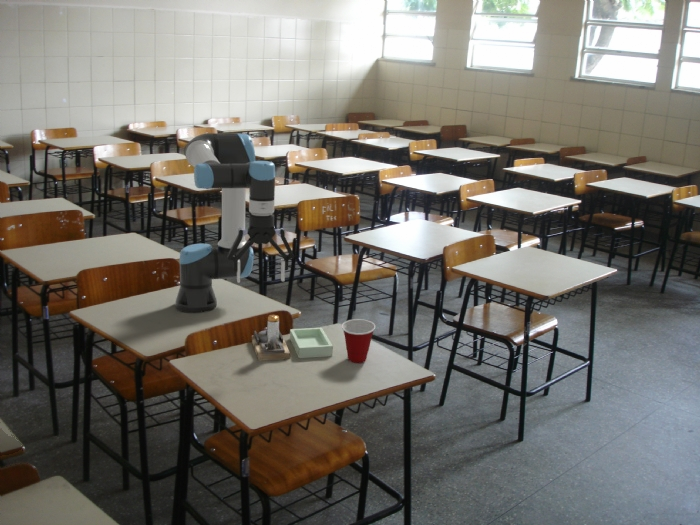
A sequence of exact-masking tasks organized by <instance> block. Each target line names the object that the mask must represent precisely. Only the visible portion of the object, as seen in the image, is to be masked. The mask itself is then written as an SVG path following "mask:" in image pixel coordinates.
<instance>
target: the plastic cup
mask: <svg viewBox="0 0 700 525" xmlns="http://www.w3.org/2000/svg"><path fill="white" fill-rule="evenodd" d="M341 330H343V334H344V340H345V341H344V342H345V347H346V353H347V355H346V356H347V360H348V361H349V362H351V363H353V364H362V363H365V362H366V361H367V357H368V354H369V351H370V346H371V342H372V337H373V334H374V331H375V330H376V324H375V323H374V322H373V321H370V320H367V319H363V318H362V319H361V318H354V319H348V320H347V321H346V320H345V321H344V322H343V323H342V324H341Z"/></svg>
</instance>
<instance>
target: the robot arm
mask: <svg viewBox="0 0 700 525" xmlns="http://www.w3.org/2000/svg"><path fill="white" fill-rule="evenodd" d="M184 155H185V159H186V161H187V162H188V164H189V165H190V166H192V167H193V168H194V169H193V177H194V178H193V181H194V185H195V187H196V188H197V189H203V190H209V189H210V190H211V189H212V190H213V189H218V190H219V189H221V239H220V240H219V241H218V242H217V247H213V246H212V245H211V244H210V243H194V244H190V245H187V246H184V247H183V248H181V250H180V252H179V261H178V262H179V290H178V292H177V296H176V298H175V308H176V309H177V310H179V311H180V312H184V313H189V314H190V313H191V314H192V313H193V314H199V313H200V314H201V313H205V312H206V313H207V312H210V311H213V310H215V309H216V308H217V305H218V304H217V303H218V302H217V297H216V294H215V290H214V288H213V280H226V279H227V280H228V279H236V282H237V283H238V284H239V283H241V278H247V277H249V276H250V274H251V272H252V270H253V267H254V249H253V247H252V246H253V244H256V245H260V244H262V245H263V244H264V245H268V244H271V246H272V247H273V248H274V249H275V251H277V252H278V253H279V255H280V256H281V257H282V258H280V280H281V282H285V279H286V278H285V276H286V274H285V273H286V271H288V270H289V261H290V260H292V259H293V260H294V258H295V255H294V253H293V250H292V247H291V245H290V244H289V242H288V240H287V238H286V233H285V230H284V228H283V227H280V228H278V229H276V228H275V214H274V213H275V191H276V189H275V188H276V185H275V184H276V175H277V174H276V166H275V163H274V162H272V161H268V160H256V154H255V147H254V142H253V140H252V137H251V136H250V135H248V134H246V133H237V132H233V133H231V132H229V133H227V132H225V133H224V132H223V133H222V132H221V133H220V132H219V133H216V132H214V133H212V132H205V133H202V134H199V135H197V136H195V137H193V138H192V139H190V140H189V142H188V143H187V144H186V145H185V149H184ZM246 189H249V192H248V194H249V199H248V211H249V214H248V229H246V191H247V190H246ZM276 234H277V236H278V237H280V239H281V241H282V243H283V245H284V247H285V249H286V252H287V254H286V253H285V251H284V250H283V249H282V248H281V246H279V244H278V243H277V242H276V241H275V239H273V237H275V235H276ZM246 235H248V236H249V238H248V239H247V240H246Z"/></svg>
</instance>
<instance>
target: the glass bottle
mask: <svg viewBox="0 0 700 525" xmlns="http://www.w3.org/2000/svg"><path fill="white" fill-rule="evenodd" d="M266 328H267V329H266V330H267V350H273V349H278V341H279V330H280V316H279V315H277V314H269V315H267V327H266Z"/></svg>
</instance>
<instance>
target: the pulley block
mask: <svg viewBox="0 0 700 525" xmlns="http://www.w3.org/2000/svg"><path fill="white" fill-rule="evenodd" d="M251 343H252V345H253V349H254V351H255V355H256V357H257V359H258V360H257V361H259V362H260V361H274V360H290V359H291V352H290V350H289V348H288V346H287V343H286V341H285V338H284V337H283V335H282V333H281V330H280V329H279V341H278V349H273V350H267V329H266V330H261V331H259V332H257V330H254V331H253V335H251Z"/></svg>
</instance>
